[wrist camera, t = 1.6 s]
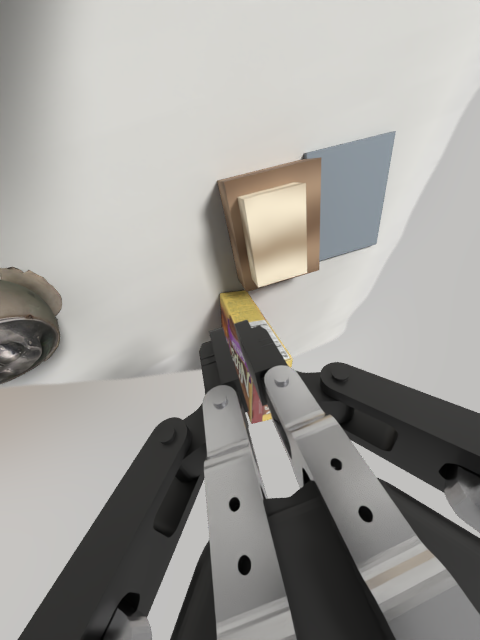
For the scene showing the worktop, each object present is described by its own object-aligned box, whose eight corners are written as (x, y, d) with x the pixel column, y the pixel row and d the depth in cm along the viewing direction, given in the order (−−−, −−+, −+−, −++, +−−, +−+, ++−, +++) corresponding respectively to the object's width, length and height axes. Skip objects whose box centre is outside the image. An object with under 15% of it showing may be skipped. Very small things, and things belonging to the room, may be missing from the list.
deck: (217, 180, 24) (223, 181, 21) (302, 159, 25) (321, 157, 22) (238, 279, 31) (246, 291, 28) (304, 260, 32) (319, 269, 29)
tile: (237, 197, 22) (243, 199, 20) (293, 182, 22) (305, 183, 20) (251, 278, 27) (258, 287, 25) (297, 265, 27) (307, 272, 25)
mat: (304, 153, 25) (306, 153, 24) (391, 131, 26) (395, 131, 25) (306, 262, 32) (308, 264, 32) (373, 242, 33) (376, 243, 33)
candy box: (247, 336, 37) (284, 417, 25) (222, 340, 36) (247, 426, 24) (248, 288, 32) (295, 359, 20) (219, 291, 31) (249, 368, 19)
